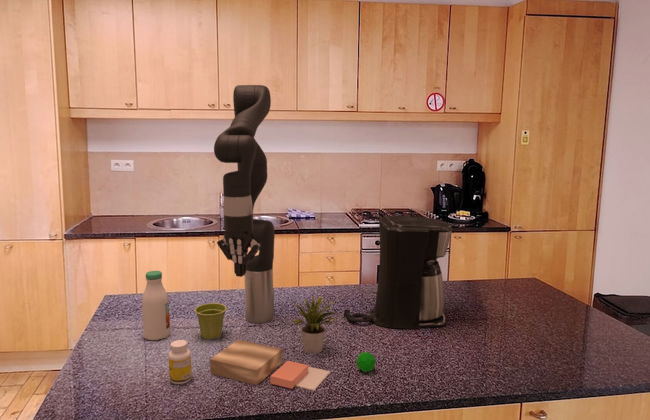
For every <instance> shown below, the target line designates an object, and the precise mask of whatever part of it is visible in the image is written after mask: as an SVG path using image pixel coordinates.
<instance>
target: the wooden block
mask: <svg viewBox="0 0 650 420" xmlns="http://www.w3.org/2000/svg"><path fill="white" fill-rule="evenodd" d="M282 364H283V348H280V347H276V346H271V345H270V346H269V345H266V344H261V343H255V342H250V341H245V340H241V339H237V340H236V341H234V342H233V343H231V344H229V345H228V346H227V347H225V348H224V349H223V350H221V351H220V352H218V353H217V354H215V355H214V356H213V357H211V358H210V359H209V369H210V370H209V371H210V372H209V373H210V375H215V376H218V377H223V378H227V379H231V380H235V381H238V382H242V383H246V384H250V385H254V386H258V385H259V384H260V383H261V382H262V381H263V380H265V379H266V378H267V377H268V376H269V375H270V374H271V373H273V372H275V370H277V368H278V367H279V366H281V365H282Z"/></svg>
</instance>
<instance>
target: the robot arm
mask: <svg viewBox="0 0 650 420" xmlns="http://www.w3.org/2000/svg"><path fill="white" fill-rule="evenodd" d="M233 89H234V90H233V92H232V93H233V96H232V99H233V100H232V101H233V112H234V117H233V119H232V121H231V123H230V126H229V127H228V128H226V129H225V130H224V131H222V132H221V133H220V134H219V135H218V136H217V137H216V139H215V142H214V146H213V154H214V156H215V158H216V159H217V160H218V161H219V162H220V163H225V164H237V170H234V171H229V172H227V173H225V174H223V177H222V185H223V187H222V188H223V201H222V208H223V209H222V211H223V230H224V234H223V238H221V239H220V240H217V241H216V244H217V246H218V248H219V249H220V251H221V252H222V253H223V255H224V256H225V258H226V259H227V260H228V261H232V262H233V266H234V267H233V268H234V269H233V270H234V274H235V276H236V277H238V278H239V277H240V278H241V277H244V304H245V305H244V307H245V309H244V311H245V313H244V314H245V316H244V317H245V320H246V322H249V323H254V324H261V323H262V324H264V323H268V322H270V321H272V320H273V319H274V315H275V289H274V273H273V272H274V269H273V267H274V266H273V265H274V257H275V237H276V236H275V235H276V234H275V233H276V232H275V226H274V224H273V222H272V221H271V220H268V219H255V218H254V207H255V204H256V201H257V199H258V198H259V196H260V194H261V193H262V191H263V189H264V187H265V185H266V184H267V180H268V160H267V159H268V158H267V157H266V154H265V152H264V150H263V148H262V147H261V145H260V144H259V143H258V142H257V140H256V139H255V137H256V136H255V135H256V133H257V130H258V127H259V126H260V125H261V123H262V122H263V121H264V120H265V118H266V117H267V116H268V115H269V112H270V110H271V104H272V99H271V91H270V89H269V88H268V87H267V86H266V85H262V84H240V85H239V84H238V85H236V86H235V87H234V88H233ZM249 248H250V250H249ZM257 253H258V254H257Z"/></svg>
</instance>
